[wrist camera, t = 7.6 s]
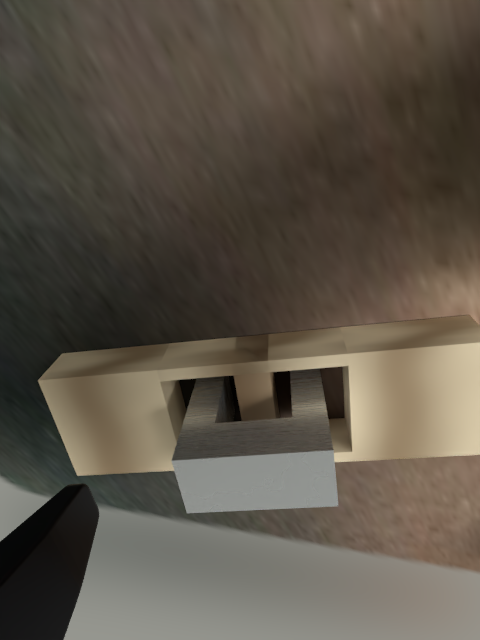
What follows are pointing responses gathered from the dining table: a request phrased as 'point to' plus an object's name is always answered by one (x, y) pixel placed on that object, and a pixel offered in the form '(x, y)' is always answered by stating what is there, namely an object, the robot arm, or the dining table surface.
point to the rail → (260, 391)
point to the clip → (255, 451)
